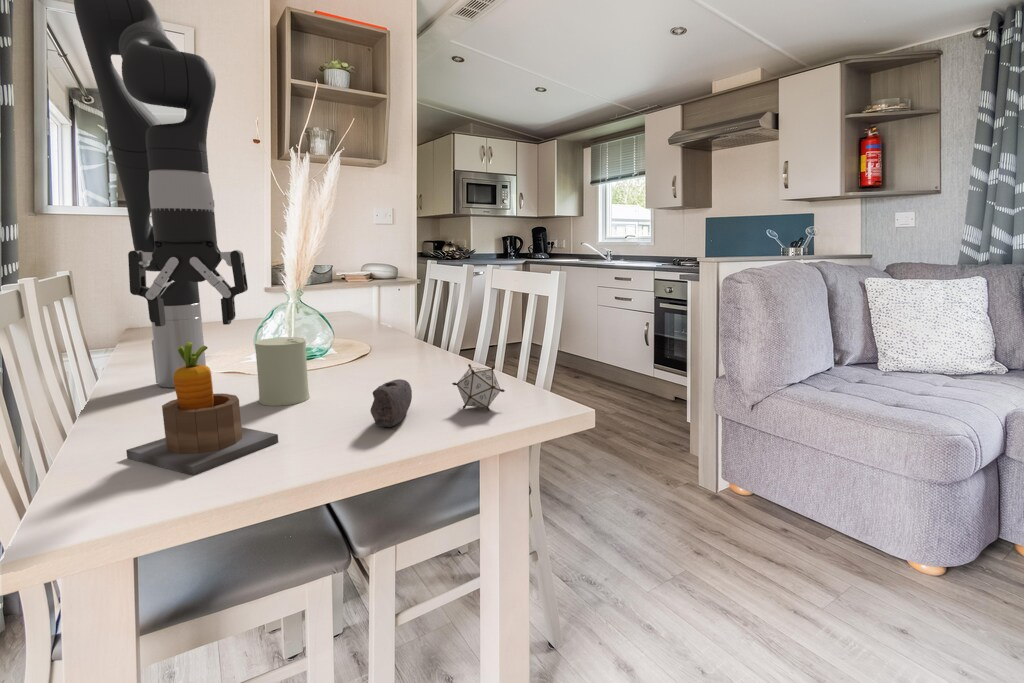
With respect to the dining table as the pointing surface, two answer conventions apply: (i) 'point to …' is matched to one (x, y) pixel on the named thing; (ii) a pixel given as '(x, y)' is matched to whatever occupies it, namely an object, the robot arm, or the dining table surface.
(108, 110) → the robot arm
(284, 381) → the can
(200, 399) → the carrot
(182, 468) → the holder
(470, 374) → the game die
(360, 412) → the dining table surface
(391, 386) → the perforated stone tool
